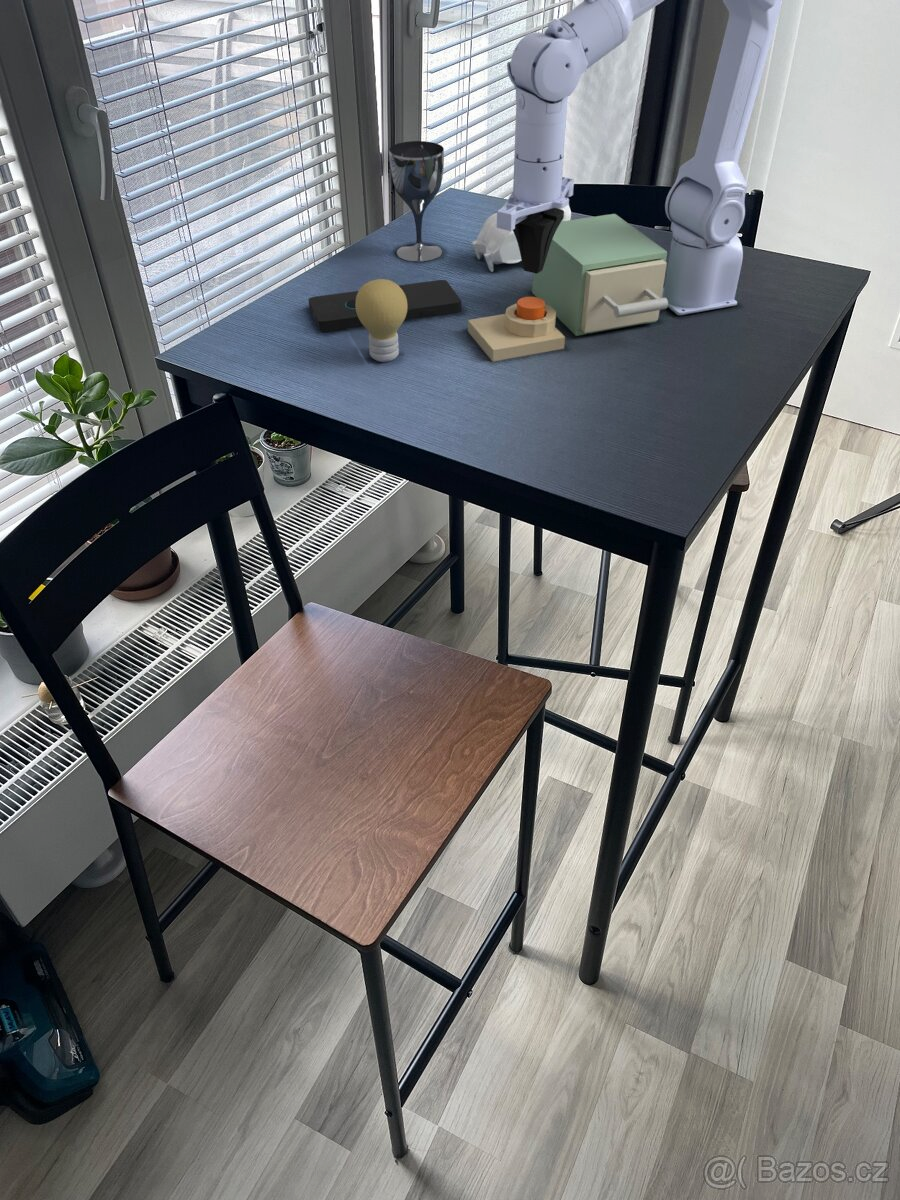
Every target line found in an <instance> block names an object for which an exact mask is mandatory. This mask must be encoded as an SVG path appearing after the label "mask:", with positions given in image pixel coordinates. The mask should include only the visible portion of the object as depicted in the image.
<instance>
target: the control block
mask: <svg viewBox="0 0 900 1200" xmlns="http://www.w3.org/2000/svg"><path fill="white" fill-rule="evenodd" d="M556 320H557V317H556V311H555V310H554V309H553V308H552V307H550V306H548V305H545V313H544V317H543V318H542V319H538V320H524V319H521V318H518V317H517V303H514V304H512V305H509V306H508V307H507V308H506V310H505V313H502V314H497V315H489V316H484V317H477V318H472V319H467V332H468V334H469V335H470V336H471V337H472V338H473V340H474V341H475V342H476V344H478V346H479V347H480V349H482V351H483V352H484V353H485V354H486V356H487V357H488V358H489V359H490V361H492V362H497V361H502V360H509V359H513V358H520V357H526V356H530V355H537V354H542V353H546V352H547V353H548V352H552V351H558V350H564V349H565V342H566V336H565V335H564V334H563V333H562V332H561V331H560V330H559V329H558V328H557V327H556Z"/></svg>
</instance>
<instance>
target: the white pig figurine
mask: <svg viewBox="0 0 900 1200" xmlns="http://www.w3.org/2000/svg"><path fill="white" fill-rule="evenodd" d="M562 210H563V211H564V218H563V220H562V221H568V220H572V211H571V207H570V204H569V205H567V206H566V207H564V208H562ZM471 244H472V246H473V248H474V252H475V255H476V258H477V260H481V255H483V256H484V259H485V262H486V264H487V267H488V270H489V271H490V272H491V273H493V272H494V265H500V264H509V265H510V264H517V263H520V262H522V260H521V255H520V250H519V246H518V242H517V239H516V237H515V234H514V232H513V230H512V231H508V230H504V229H500V228H497V212H496V213H492V214H491V215H490V216H488V217H487V219H485V221H484V223H483V225H482V227H481V229H480V231H479V233H478V234H477V238H476V240H473V241H471Z"/></svg>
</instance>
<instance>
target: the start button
mask: <svg viewBox="0 0 900 1200" xmlns="http://www.w3.org/2000/svg"><path fill="white" fill-rule="evenodd" d="M516 304H517V317H518V318H521V319H524V320H538V319H542V318H543V317H544V313H545V301H544V300H542V299H541V298H537V297H536V296H523V297H521V298H519V299H518V300H517V301H516Z"/></svg>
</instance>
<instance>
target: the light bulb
mask: <svg viewBox="0 0 900 1200" xmlns="http://www.w3.org/2000/svg"><path fill="white" fill-rule="evenodd" d="M398 285H399V284H397V283H396V282H395V281H392V280H391V279H386V278H376V279H373V280H370V281H368V282H366V283H364V284H363V285H362V286H360V288H359V289H358V290H357V291H358V293H357V296H356V304H355V308H356V313H357V316H358V318H359V320H360V321H361V323H362V324H363V327H364V328H365V329H366V330H367V331H368V332H369V334H368V347H369V355H370V358H372V359H373V360H375V361H377V362H380V363H381V362H382V363H387V362H391V361H393V360H395V359H396V358H397V357H398V356H399V354H400V348H399V345H400V344H399V334H398V332H397V331H398V330H399V328H401V326H402V324H403V323H404V319H405V317H406V314H407V307H408V305H407V299H406V296H405V293H404V292H403V290H402V289H401V288H400V287H399V286H398Z"/></svg>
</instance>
